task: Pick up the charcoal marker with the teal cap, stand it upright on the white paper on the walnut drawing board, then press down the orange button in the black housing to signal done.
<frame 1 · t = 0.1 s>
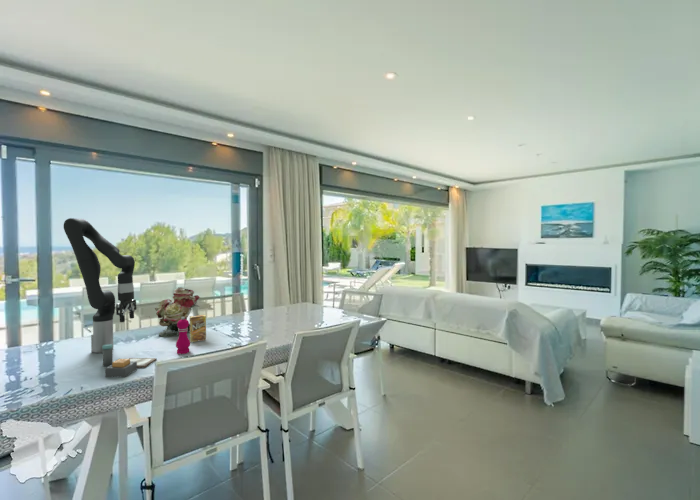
hand: (127, 320, 195), 17 cm above the table, tool pointing down, fingers open, 8 cm apart
drawing board: (136, 363, 176), on the table
pepper mill: (183, 352, 194), on the table
button housing: (121, 373, 164), on the table
rose bouquet: (178, 332, 235), on the table
candy box: (197, 340, 216), on the table
done button: (121, 364, 164), point 4 cm above the table, slide at 0.0 cm
marker: (107, 365, 174), on the table
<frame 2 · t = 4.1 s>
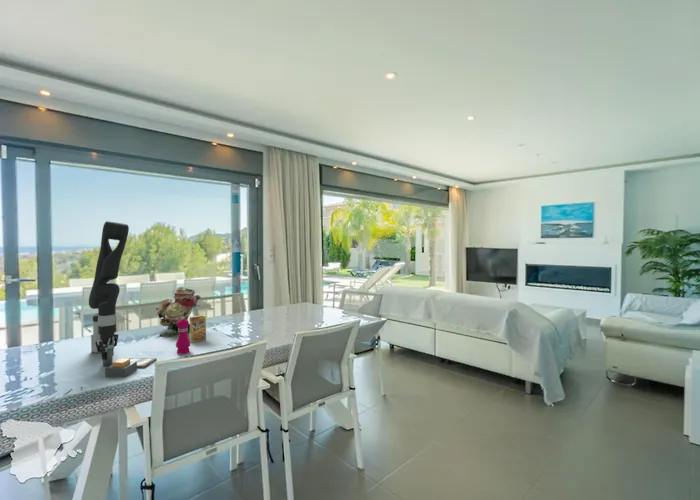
hand: (107, 357, 173), 4 cm above the table, tool pointing down, fingers closed on marker, 4 cm apart
marker: (107, 365, 174), on the table, touching gripper
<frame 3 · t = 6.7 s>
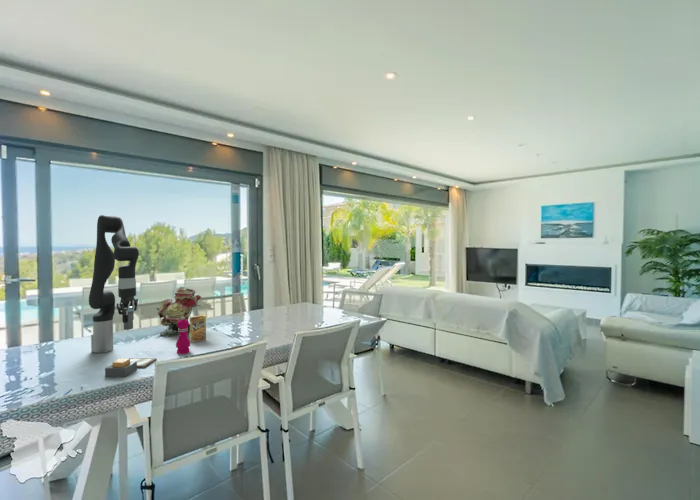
hand: (128, 321, 174), 22 cm above the table, tool pointing down, fingers closed on marker, 4 cm apart
marker: (128, 328, 174), point 18 cm above the table, touching gripper
when the fingers open (6 cm above the table, at t = 9.3 s): marker stays where it is, resting on drawing board.
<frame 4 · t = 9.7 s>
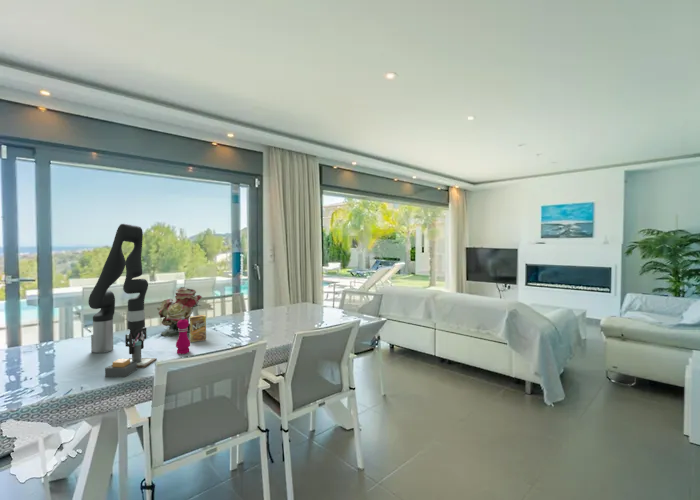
hand: (136, 351, 176), 6 cm above the table, tool pointing down, fingers open, 7 cm apart
marker: (136, 361, 176), point 1 cm above the table, touching drawing board
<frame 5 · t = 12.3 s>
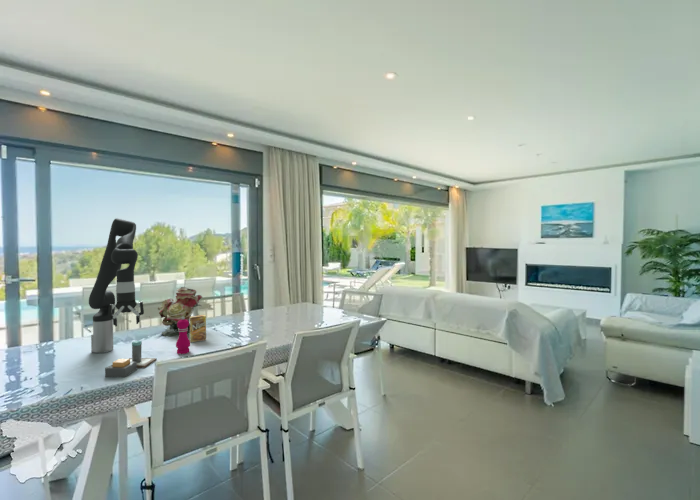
hand: (126, 324, 167), 22 cm above the table, tool pointing down, fingers open, 8 cm apart
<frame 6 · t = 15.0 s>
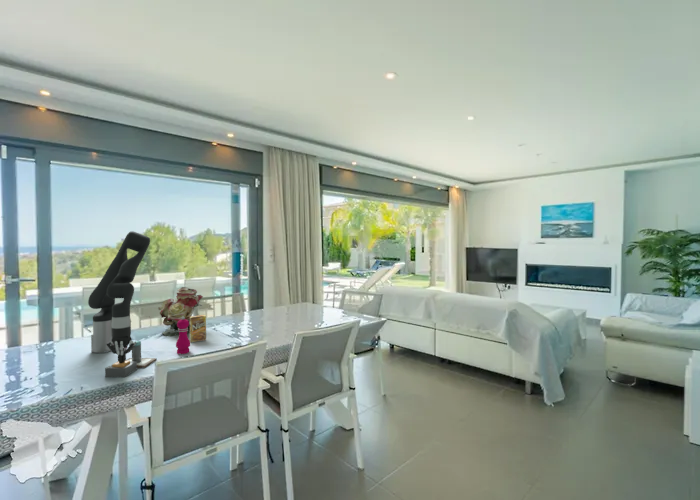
hand: (121, 362, 164), 5 cm above the table, tool pointing down, fingers closed
done button: (121, 366, 164), point 3 cm above the table, slide at 0.9 cm, touching gripper
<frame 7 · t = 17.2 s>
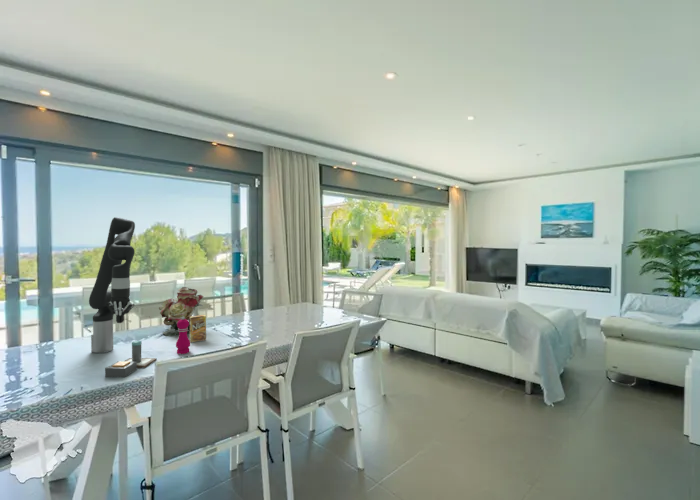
hand: (119, 322, 169), 22 cm above the table, tool pointing down, fingers closed
done button: (121, 367, 164), point 3 cm above the table, slide at 1.3 cm
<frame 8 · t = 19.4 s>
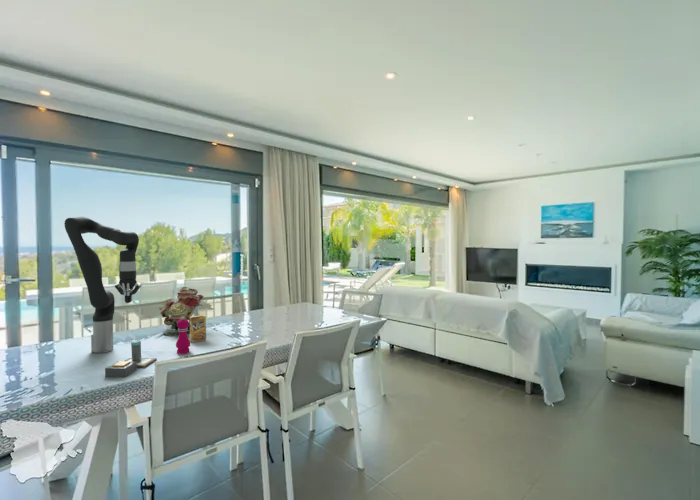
hand: (128, 302, 185), 29 cm above the table, tool pointing down, fingers closed
at the end: marker inside the target area on the drawing board (0.1 cm from its centre), point 1.2 cm above the drawing board's base; marker tilted 2°; done button slide at 1.3 cm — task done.
